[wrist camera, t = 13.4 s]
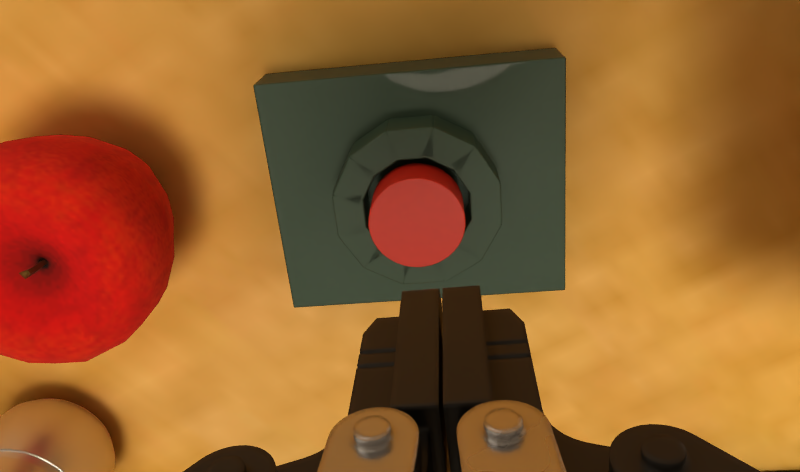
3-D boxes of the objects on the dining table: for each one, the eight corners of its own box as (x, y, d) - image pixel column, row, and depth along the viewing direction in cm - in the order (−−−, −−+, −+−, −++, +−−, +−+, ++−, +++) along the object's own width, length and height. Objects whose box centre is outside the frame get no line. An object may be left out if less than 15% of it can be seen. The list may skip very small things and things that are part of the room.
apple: (175, 312, 34) (107, 417, 27) (-3, 241, 32) (-124, 331, 25) (235, 154, 30) (175, 226, 23) (38, 67, 29) (-89, 115, 22)
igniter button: (460, 159, 26) (462, 174, 25) (466, 244, 28) (468, 264, 26) (366, 166, 26) (362, 182, 25) (376, 250, 28) (373, 270, 26)
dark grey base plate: (556, 47, 28) (575, 66, 24) (556, 267, 32) (573, 311, 28) (264, 73, 29) (241, 95, 25) (301, 284, 33) (286, 329, 29)
